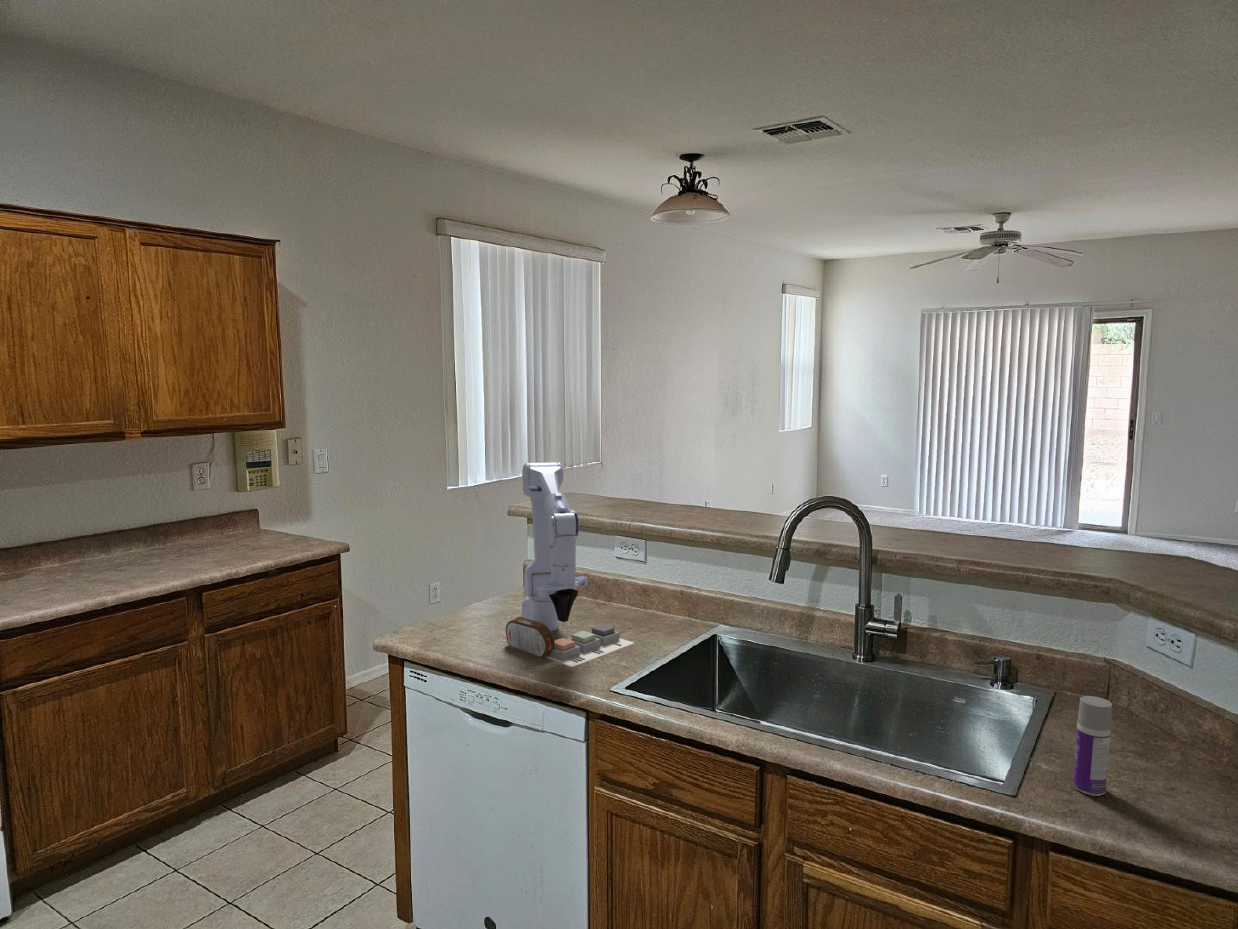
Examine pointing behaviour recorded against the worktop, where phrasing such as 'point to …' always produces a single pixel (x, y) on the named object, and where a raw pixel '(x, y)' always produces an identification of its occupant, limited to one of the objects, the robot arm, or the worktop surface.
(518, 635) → the tin
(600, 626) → the key one
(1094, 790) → the container
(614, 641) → the keypad
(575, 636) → the key two
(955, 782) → the worktop surface
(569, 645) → the key three
